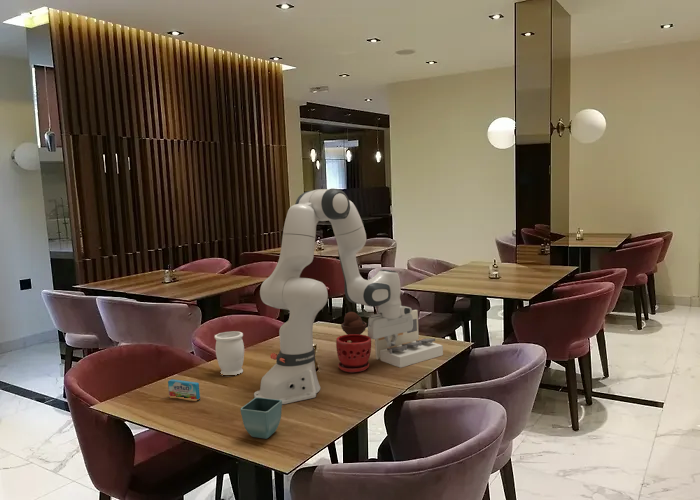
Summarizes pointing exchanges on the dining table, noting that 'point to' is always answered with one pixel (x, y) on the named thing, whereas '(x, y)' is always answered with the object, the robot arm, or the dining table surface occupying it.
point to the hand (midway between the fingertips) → (391, 345)
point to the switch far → (425, 340)
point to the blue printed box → (184, 389)
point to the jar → (230, 352)
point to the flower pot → (261, 416)
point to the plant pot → (353, 352)
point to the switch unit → (409, 354)
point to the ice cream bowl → (353, 324)
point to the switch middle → (411, 344)
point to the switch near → (397, 348)
